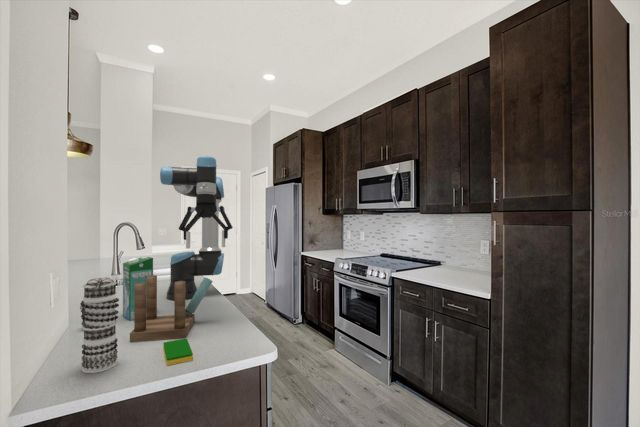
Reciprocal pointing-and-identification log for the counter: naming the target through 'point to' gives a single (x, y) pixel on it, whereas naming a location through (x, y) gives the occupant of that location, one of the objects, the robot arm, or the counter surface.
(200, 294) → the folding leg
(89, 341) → the decorative candle
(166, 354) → the dish sponge
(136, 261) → the milk carton
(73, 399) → the counter surface
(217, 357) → the counter surface
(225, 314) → the counter surface
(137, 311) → the walnut stool
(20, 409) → the counter surface
